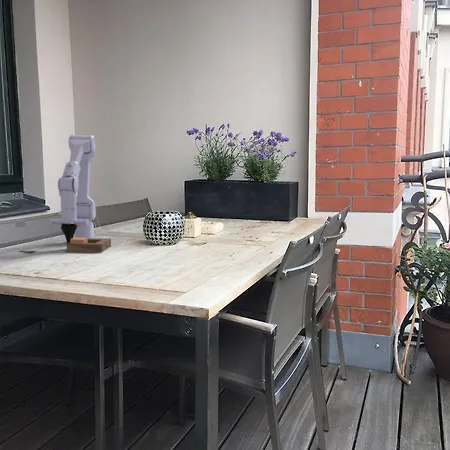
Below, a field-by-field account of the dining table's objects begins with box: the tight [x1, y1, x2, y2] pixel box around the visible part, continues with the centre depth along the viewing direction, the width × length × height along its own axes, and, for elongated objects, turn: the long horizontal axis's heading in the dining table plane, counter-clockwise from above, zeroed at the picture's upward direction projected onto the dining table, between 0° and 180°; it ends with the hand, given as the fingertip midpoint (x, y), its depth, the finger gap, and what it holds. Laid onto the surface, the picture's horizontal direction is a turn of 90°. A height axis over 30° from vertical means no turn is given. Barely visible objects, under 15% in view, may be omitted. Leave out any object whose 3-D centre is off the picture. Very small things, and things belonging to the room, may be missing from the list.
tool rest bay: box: [66, 237, 112, 254], centre depth 197 cm, size 14×13×3 cm
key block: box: [70, 237, 88, 243], centre depth 197 cm, size 5×5×4 cm
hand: (69, 243), depth 197 cm, fingers closed
